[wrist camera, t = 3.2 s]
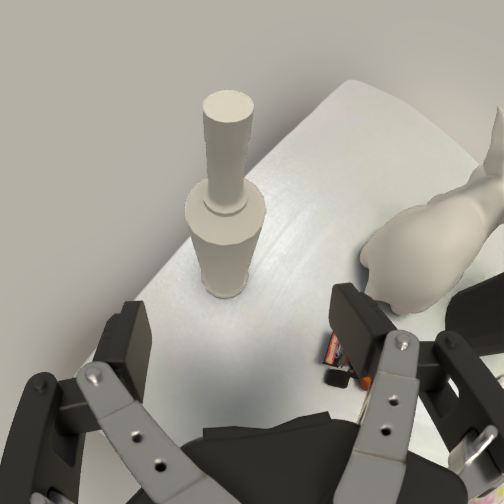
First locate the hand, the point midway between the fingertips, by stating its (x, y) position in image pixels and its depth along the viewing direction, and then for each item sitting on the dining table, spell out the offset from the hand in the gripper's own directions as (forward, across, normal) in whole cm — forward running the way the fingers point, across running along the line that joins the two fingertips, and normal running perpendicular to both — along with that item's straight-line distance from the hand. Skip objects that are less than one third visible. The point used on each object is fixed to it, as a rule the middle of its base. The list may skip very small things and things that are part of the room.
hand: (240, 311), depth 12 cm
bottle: (+20, 0, +10) cm, 22 cm away
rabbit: (+20, -25, +10) cm, 33 cm away
